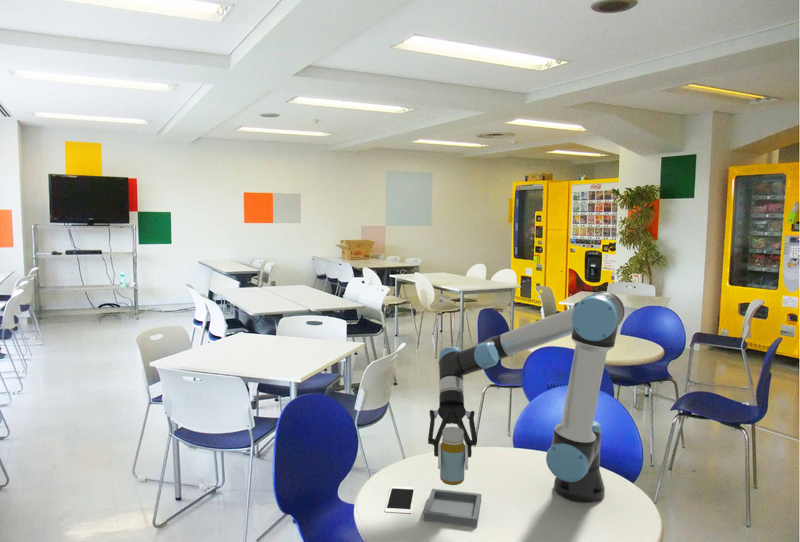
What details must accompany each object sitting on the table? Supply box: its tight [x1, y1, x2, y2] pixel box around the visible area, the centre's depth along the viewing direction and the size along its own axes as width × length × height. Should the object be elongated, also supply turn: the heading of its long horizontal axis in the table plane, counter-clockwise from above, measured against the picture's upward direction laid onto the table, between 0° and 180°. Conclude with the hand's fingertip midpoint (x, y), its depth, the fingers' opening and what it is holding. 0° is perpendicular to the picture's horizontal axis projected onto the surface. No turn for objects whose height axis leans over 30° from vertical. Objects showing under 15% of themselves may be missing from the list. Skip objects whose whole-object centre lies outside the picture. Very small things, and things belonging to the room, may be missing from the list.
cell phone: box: [384, 485, 416, 515], centre depth 177 cm, size 8×16×1 cm, turn 174°
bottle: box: [439, 426, 466, 486], centre depth 169 cm, size 7×7×15 cm
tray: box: [423, 488, 482, 528], centre depth 170 cm, size 15×15×2 cm
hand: (453, 467), depth 166 cm, fingers closed on bottle, 7 cm apart
